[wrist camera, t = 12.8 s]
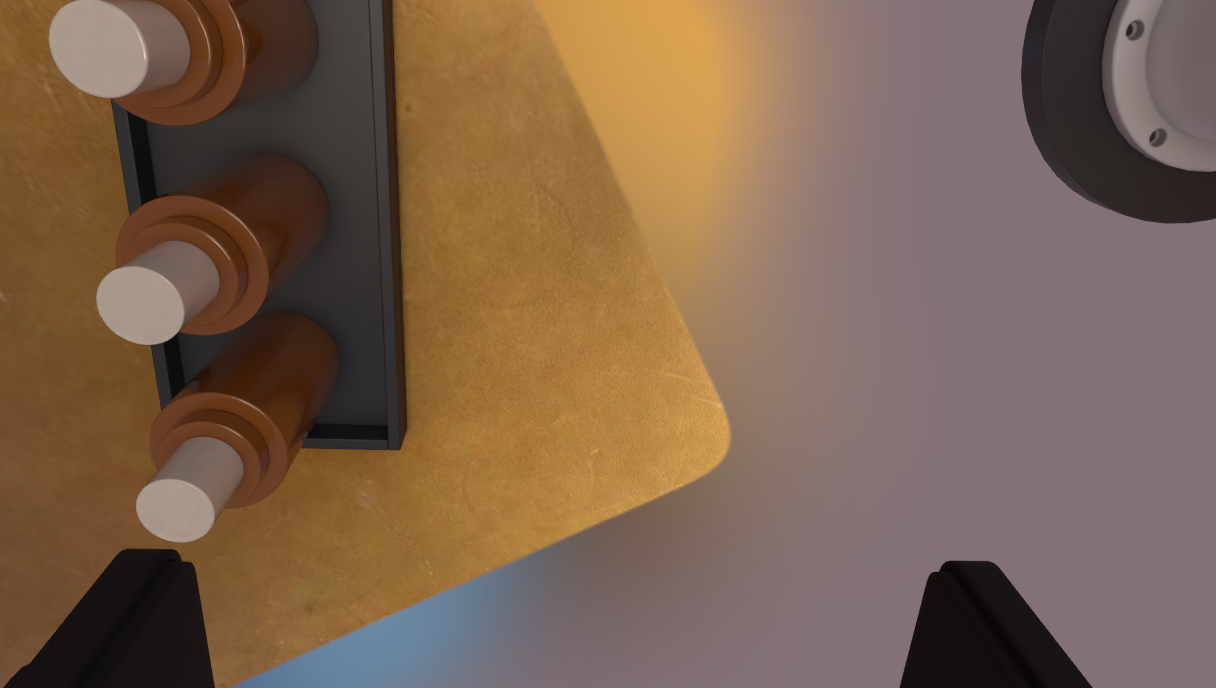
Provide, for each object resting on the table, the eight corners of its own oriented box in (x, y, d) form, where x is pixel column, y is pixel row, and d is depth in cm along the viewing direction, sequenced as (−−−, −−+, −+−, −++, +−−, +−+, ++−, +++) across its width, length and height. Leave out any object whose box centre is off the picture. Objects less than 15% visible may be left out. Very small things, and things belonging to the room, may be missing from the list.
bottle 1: (314, -30, 34) (183, -49, 22) (323, 101, 36) (207, 151, 24) (183, -39, 33) (-25, -63, 21) (199, 94, 35) (17, 141, 23)
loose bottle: (338, 312, 39) (244, 447, 27) (344, 408, 41) (260, 574, 29) (226, 308, 39) (82, 443, 27) (238, 405, 41) (108, 572, 29)
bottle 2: (326, 154, 36) (217, 228, 24) (334, 266, 38) (236, 385, 26) (206, 148, 36) (34, 220, 24) (220, 261, 38) (67, 380, 26)
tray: (390, -64, 34) (380, -68, 32) (407, 430, 43) (400, 451, 41) (107, -85, 33) (79, -90, 31) (184, 425, 42) (166, 445, 40)
